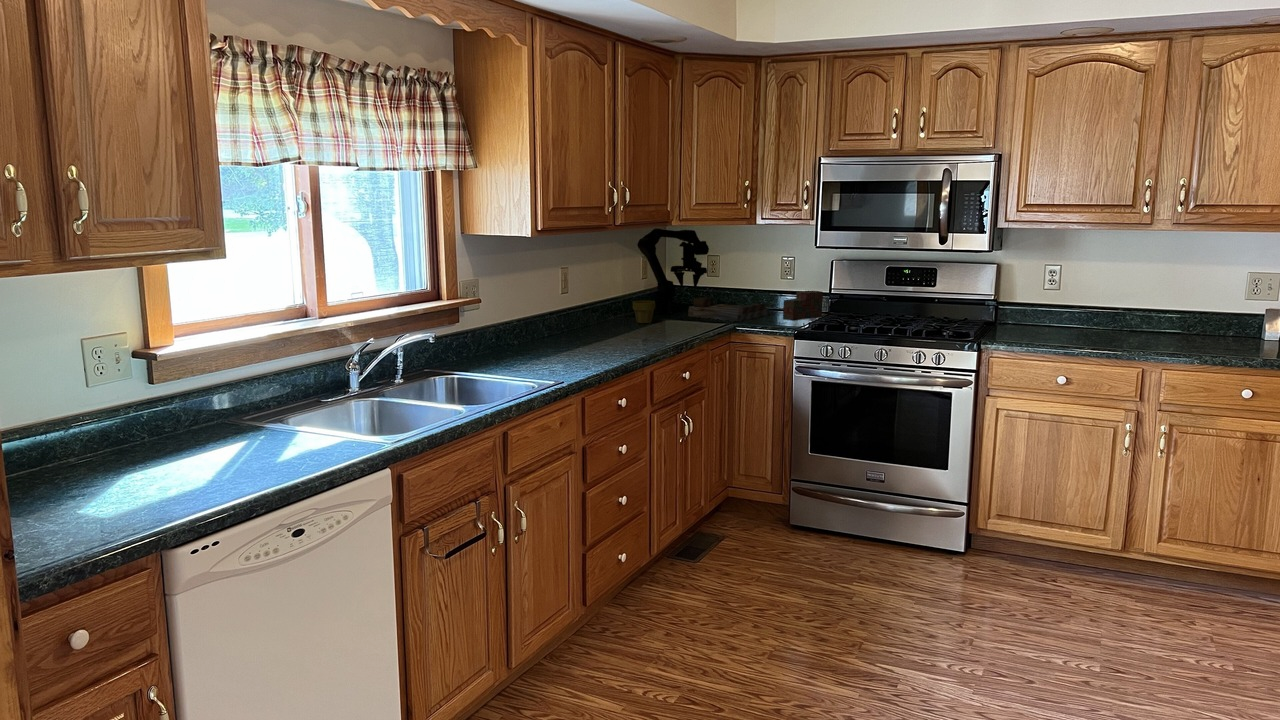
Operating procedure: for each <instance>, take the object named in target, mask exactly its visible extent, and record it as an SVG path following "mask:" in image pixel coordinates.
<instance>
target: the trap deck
mask: <svg viewBox="0 0 1280 720" xmlns="http://www.w3.org/2000/svg"><path fill="white" fill-rule="evenodd" d="M687 311H688V314H687V315H688V317H689V318H691V317H693V318H699V317H701V319H708V318H711V319H712V320H717V319H719V320H718V321H726V320H729V321H728V322H735V321H739V322H743V321H748V320H752V319H757V318H761V317H762V318H763V317H767V316H770V308H767V307H766V303H764V302H763V303H762V302H761V303H756V304H750V305H744V306H743V305H734V304H725V303H720V304H715V305H714V304H713V305H711V307H705V308H700V307H693V305H692V306H688V310H687ZM711 319H710V320H711ZM742 320H743V321H742Z"/></svg>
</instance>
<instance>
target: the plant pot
mask: <svg viewBox="0 0 1280 720" xmlns="http://www.w3.org/2000/svg"><path fill="white" fill-rule="evenodd" d="M632 310H633V311H634V315H635V321H636V323H637V322H638V323H650V324H652V323H651V322H653V316H654V313H655V311H654V310H656V300H634V301H632ZM638 323H637V324H638Z"/></svg>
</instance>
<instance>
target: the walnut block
mask: <svg viewBox="0 0 1280 720" xmlns="http://www.w3.org/2000/svg"><path fill="white" fill-rule="evenodd" d="M711 302H712V298H711V297H695V298H693V304H692V306H693V307H700V308H705V307H711V306H712V305H711Z"/></svg>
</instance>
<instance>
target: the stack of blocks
mask: <svg viewBox="0 0 1280 720" xmlns="http://www.w3.org/2000/svg"><path fill="white" fill-rule="evenodd" d="M823 295H824V292H823V291H821V290H820V291H819V290H805V291H796V298H789V299H783V306H782V320H786V321H801V320H808V319H814V318H823V305H824V304H823V301H824V298H823V297H824V296H823Z"/></svg>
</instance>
